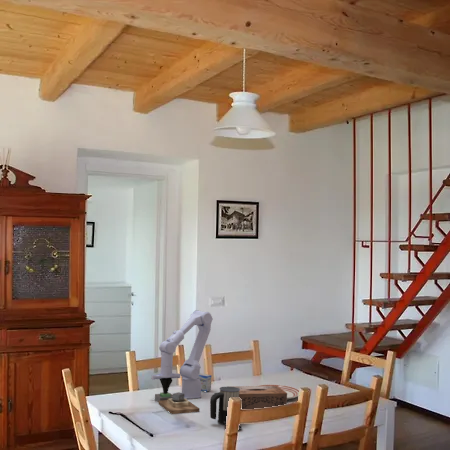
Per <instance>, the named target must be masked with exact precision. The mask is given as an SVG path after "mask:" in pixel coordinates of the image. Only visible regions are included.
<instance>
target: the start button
mask: <svg viewBox="0 0 450 450" xmlns="http://www.w3.org/2000/svg"><path fill="white" fill-rule="evenodd" d="M170 393H171V392H168V393H167V394H164V393H163V391H162V392H160V393H159V394H160V396H161V397H170Z"/></svg>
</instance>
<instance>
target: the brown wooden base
mask: <svg viewBox="0 0 450 450" xmlns="http://www.w3.org/2000/svg"><path fill="white" fill-rule="evenodd" d="M158 405H159V406H160V407H162V408H163V409H164V410H165V411H166V412H168V411H169V412H170V413H172V414H171V415H177V414H189V413H200V408H199V407H198V406H196V405H195V404H193V403H192V402H191V401H190V400H188V399H185V398H184V402H173V401H172V398H171V399H168V400H163V401H159V402H158ZM169 412H168V413H169ZM170 413H169V414H170Z"/></svg>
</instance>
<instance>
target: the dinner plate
mask: <svg viewBox="0 0 450 450" xmlns="http://www.w3.org/2000/svg"><path fill="white" fill-rule="evenodd" d="M256 386H278V387H280V388H281V389H282V390H284V391H285V392H286V393H287V401H288V400H291V399H294V398H297V397H299V396H298V392H299V390H300V389H299V388H297V387H293V386H291V385H286V384H285V385H283V384H272V383H271V384H266V383H265V384H259V385H258V384H257V385H256Z"/></svg>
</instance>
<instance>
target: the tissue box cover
mask: <svg viewBox="0 0 450 450" xmlns="http://www.w3.org/2000/svg"><path fill="white" fill-rule="evenodd" d="M226 387H236V388H239V389H240V391H239V397H240V398H241V399H242V409H254V408H264V407H272V406H278V405H284V404H287V405H288V400H287V393H286V392H285V391H284V390H282V389H281V388H280V387H278V386H257V385H251V386H249V385H243V386H240V385H239V386H226Z"/></svg>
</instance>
